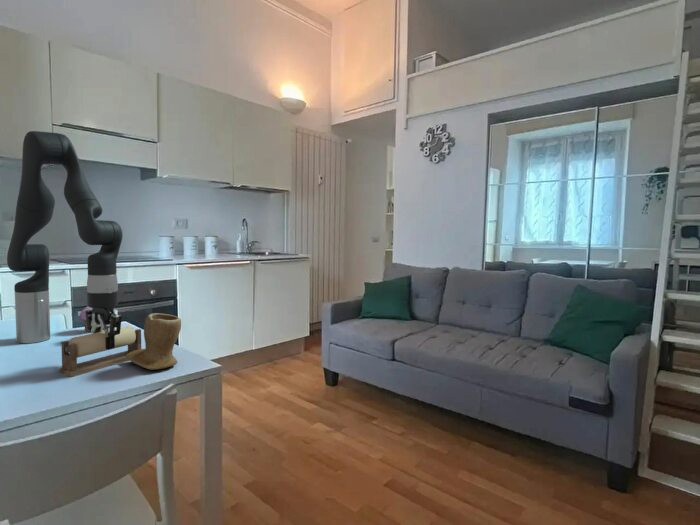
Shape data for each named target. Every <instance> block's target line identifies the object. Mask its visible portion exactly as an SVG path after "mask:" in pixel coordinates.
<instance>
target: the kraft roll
mask: <svg viewBox="0 0 700 525" xmlns="http://www.w3.org/2000/svg"><path fill="white" fill-rule="evenodd" d="M115 330H116V329H115ZM108 331H109V330H108ZM105 337H106V335H105V332H104V331H103V332H98V333H93V334H92V333H89V334H85V335H79V336H75V337H71V338H70V339H69V341H68V342H69V344H72V343H75V344H76V348H77V359H78V358H82V357H85V356H89V355H93V354H97V353H102V352H106V351H108V350H107V349H106V341H105ZM135 339H136V334H135V329H134V327H132V326H130V325H128V326H123V327H121V329H120V334H118V335H115V348H114V349H118V348H122V347H126V346H128V345H130V344H133V343H134V342H135ZM65 351H66V352H69V346H67V347H65Z"/></svg>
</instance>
